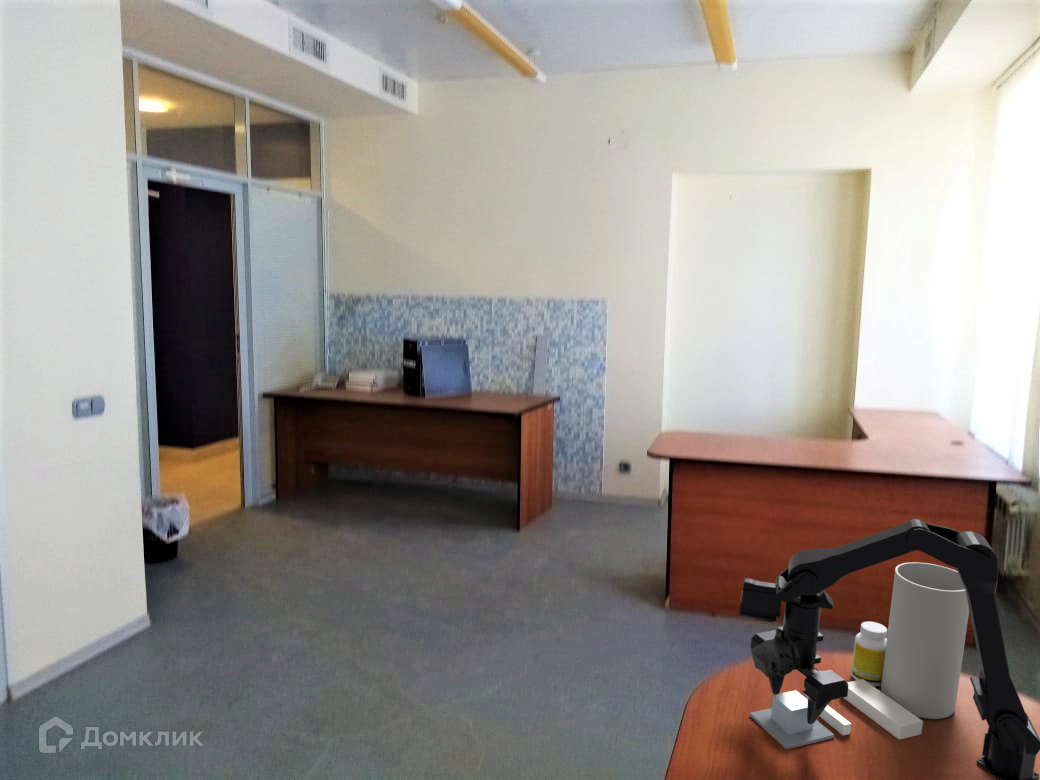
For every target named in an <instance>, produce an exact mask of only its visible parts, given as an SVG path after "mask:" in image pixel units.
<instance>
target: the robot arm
mask: <svg viewBox="0 0 1040 780" xmlns="http://www.w3.org/2000/svg"><path fill="white" fill-rule="evenodd" d="M916 551H918V552H921V553H924V554H926V555H928V556H929V557H932V558H934V559H936V560H938V561H939V562H941V563H943V564H945V565H947V566H950V567H952V568H955V569H956V571H958V574H959V576H960V578H961V581H962V583H963V585H964V588H965V590H966V596H967V601H968V606H969V616H970V620H971V627H972V630H973V631H972V632H973V637H974V641H975V647H976V652H977V656H978V657H977V658H978V662H979V669H980V671H979V676H978V677H969V681H970V683H971V685H972V687H973V696H972V699H973V701H974V704H975V706H976V708H977V712H978V714H979V716H980V719H981V721H986V722H987V727H988V728H987V732H986V733H984V740H983V746H982V752H981V755H982V756H983V757H979V758H977V759H976V763H977V764H978V765H980V766H981V767H982V768H983V769H985V770H986V771H988V772H989V773H991V774H992V775H993V776H995V777H996V778H997V779H999V780H1039V779H1040V774H1039V773H1037V772H1035V771H1034V769H1035V764H1036V758H1037V755H1038V753H1039V752H1040V737H1039V735H1038V733H1037V731H1036V728H1035V727H1034V725H1033V723H1032V721H1031V719H1030V717H1029V716H1028V714H1027V712H1026V711H1025V708H1024V706H1023V704H1022V701H1021V699H1020V696H1019V694H1018V692H1017V690H1016V687H1015V685H1014V682H1013V680H1012V678H1011V674H1010V669H1009V662H1008V658H1007V654H1006V653H1007V652H1006V648H1005V647H1006V646H1005V641H1004V636H1003V630H1002V627H1001V626H1002V625H1001V622H1000V616H999V609H998V604H997V600H996V592H997V587H998V582H999V559H998V556H997V554H996V552H995V551H994V550H993V548H992V547H991V546H990V544H989V542H988V541H987V539H986V538H985V537H984V536H983V535H981V534H979V533H978V532H975V531H972V530H971V531H969V530H968V531H967V530H965V531H959V530H957V529H954V528H950V527H947V526H943V525H938V524H933V523H928V522H926V521H923V520H921V519H916V518H913V519H909V520H907V521H905V522H904V523H902V524H901V523H900V524H898V525H897V526H893V527H891V528H887V529H885V530H882V531H879V532H877V533H874V534H871V535H868V536H864V537H862V538H859V539H857V540H854V541H852V542H848V543H846V544H842V545H840V546H836V547H830V548H829V547H826V548H825V547H824V548H823V547H818V548H811V549H806V550H801V551H797V552H795V553H794V554H793V555H791V557H790V559H789V561H788V566H787V567H786V568H785V569H784V570H782V572H781V573H780V574H779V575H778V576H777V577H776V578H775V583H773V582H768V581H767V582H766V581H761V580H755V579H753V578H748V577H745V578H744V579H743V584H742V586H743V587H742V591H741V597H740V605H739V618H742V619H749V620H753V621H754V620H756V621H761V622H766V623H767V622H768V623H772V624H773V622H777V618H779V619H780V618H781V610H782V602H783V603H784V613H783V623H782V624H783V625H782V626H778V627H777V629H774V630H769V631H763V632H756V633H755V634H754V635H753V636H752V637H751V638H750V649H751V650H750V653H751V655H752V656H751V657H752V660H753V664H754V665H753V666H754V667H755V669H757V670H759V671H760V672H761V673H762V674H763V675H764V676H765V677H767V678H768V681H769V684H770V688H771V693H772V694H773V695H776V694H780V692H781V690H782V689H781V688H782V687H783V683H784V679H785V677H786V675H789V674H790V673H792V672H793V671H796V670H797V671H798V672H799V673H800V674H801V675H803V676H804V677H805V678H804V680H803V681H804V682H803V687H804V690H802V694H804V695H805V696H806V698H807V699H808V708H807V722H808V724H813V723H814V722H815V721H816V720H817V721H818V718H819V717H820V714H821V713H822V712H823V710H824V709H825V708H826V706H827V705H828V706H829V704H830V703H831V702H832V701H833V700H835V701H836V700H839V699H842V698H843V697H847V695H848V686H849V684H848V683H847V682H848V681H846V679H844V678H843V677H842V676H841V675H838V674H837V673H835V672H834V671H833V670H832V669H827V670H821V671H820V670H819V669H818V668H816V667H815V665H818V664H821V663H822V657H821V656H820V655H819V654H817V647H818V642H819V643H820V642H823V641H824V634H822V633H821V632H819V630H820V629H819V628H820V620H821V609H825V610H826V609H827V610H833V609H834V601H833V598H832V597H831V595H829V594H828V593H827V592H826V590H827V589H829V588H830V587H832V586H834V585H835V584H836V583H837V582H839V581H840V580H841V579H842V578H844V577H845V576H847V575H849V574H852V573H854V572H857V571H861V570H863V569H866V568H869V567H872V566H875V565H878V564H881V563H884V562H887V561H889V560H893V559H896V558H899V557H901V556H906V555H907V554H910V553H913V552H916ZM843 699H844V698H843Z"/></svg>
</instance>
